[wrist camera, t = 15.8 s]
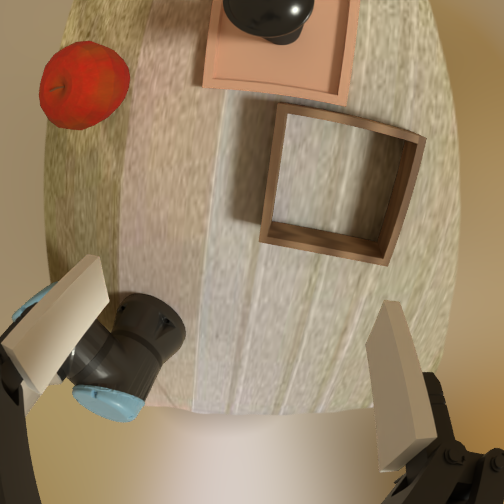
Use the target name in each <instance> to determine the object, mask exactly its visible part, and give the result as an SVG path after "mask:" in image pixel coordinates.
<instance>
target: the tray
mask: <svg viewBox="0 0 504 504" xmlns="http://www.w3.org/2000/svg"><path fill="white" fill-rule="evenodd" d="M359 7H360V0H315V2H314V8H313V11H312V14H311V16H310V17H309V19H308V20H307V21H306V23H305V24H304V26H303V29H302V31H301V34H300V36H299V38H298V39H297V40H296V41H295V42H293V43H291V44H288V45H277V44H274V43H271V42H270V41H268V40H266V39H264V38H262V37H257V36H253V35H250V34H248V33H245V32H243V31H241V30H240V29H238V28H237V27H236V26H234V25H233V24H232V23H231V21H230V20H229V19H228V17H227V16H226V14H225V11H224V8H223V0H213V1H212V8H211V15H210V23H209V30H208V38H207V47H206V56H205V65H204V74H203V85H202V88H219V89H232V90H244V91H254V92H262V93H271V94H278V95H285V96H292V97H298V98H304V99H310V100H315V101H321V102H326V103H331V104H336V105H340V106H345V107H346V104H347V98H348V91H349V85H350V78H351V72H352V65H353V57H354V50H355V42H356V34H357V26H358V16H359Z"/></svg>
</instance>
